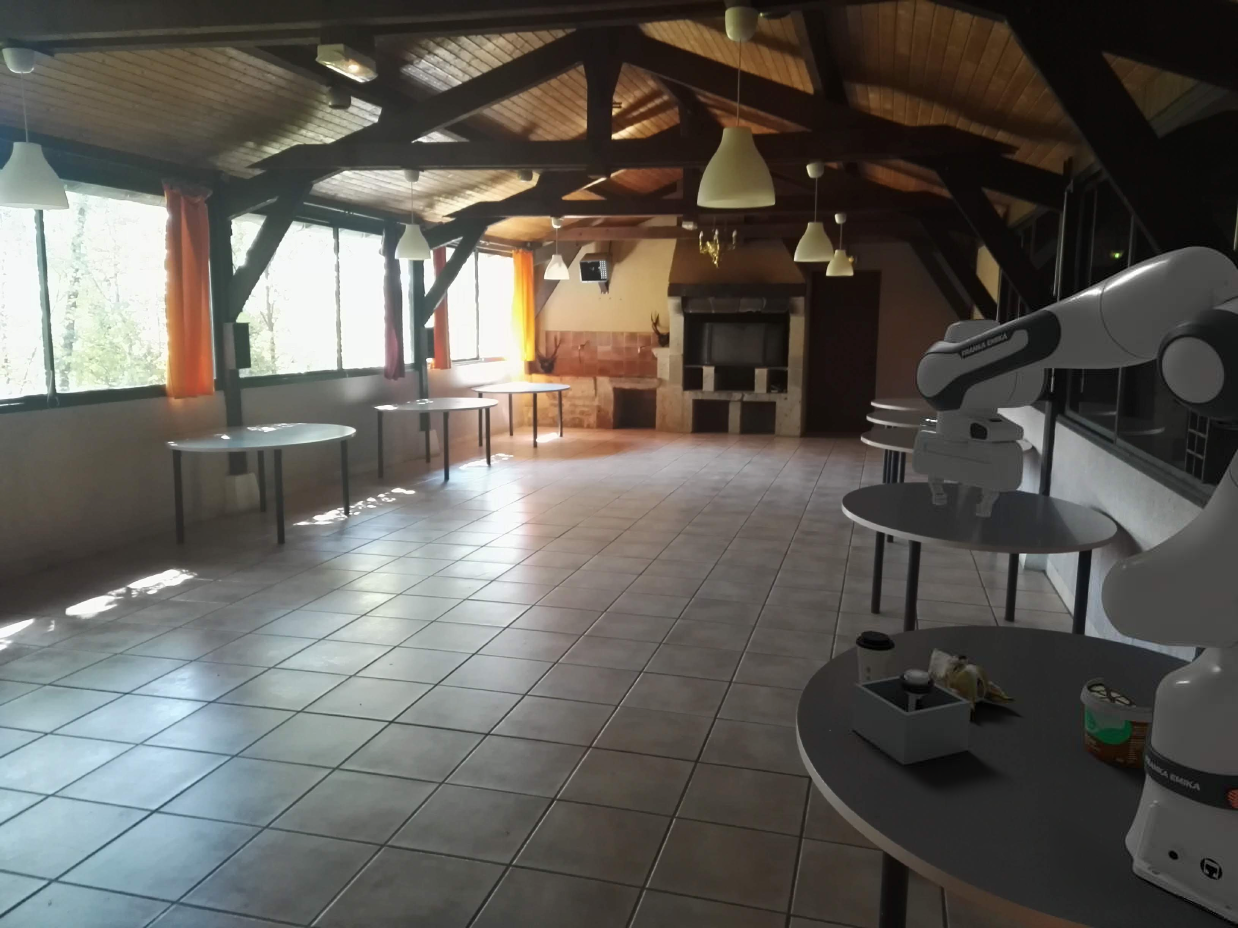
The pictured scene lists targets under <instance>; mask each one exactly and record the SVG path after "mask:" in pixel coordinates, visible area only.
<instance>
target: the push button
mask: <svg viewBox="0 0 1238 928" xmlns="http://www.w3.org/2000/svg"><path fill="white" fill-rule="evenodd" d="M899 676H900V677H899V681H900V682H901V689H903V690H904V691H906V692H907V693H908V694H909V704H908V705H907V708H906V709H905V712H912V711H917V710H922V709H923V705H922V696H923V695H926V694H929V693H931V691H932V686H934V680H933V679H932V678H930V677H929V674H928V671H927V672H926V671H924V670H922V669H915V668H914V669H912V668H911V669H907V670H905V673H903V674H901V675H899Z"/></svg>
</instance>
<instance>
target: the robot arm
mask: <svg viewBox="0 0 1238 928" xmlns="http://www.w3.org/2000/svg"><path fill="white" fill-rule="evenodd" d="M1155 359H1156V366H1157V372H1158V375H1159V377H1160V380H1161V381H1162V384H1163V386H1164V388H1165V389H1166V390H1167V391H1168V393H1169V394H1170V395H1171V396H1172V397H1173V399H1175V400H1176V401H1177V402H1178V403H1179V404H1181V405H1182V406H1183V407H1185V408H1187V410H1189V411H1191V412H1192V413H1194V414H1196V415H1198V416H1202V417H1205V418H1207V419H1208V420H1209V421H1210V422H1211V423H1212V424H1213V425H1214V426H1215V427H1218V428H1221V429H1226V430H1232V431H1234V430H1236V431H1238V269H1237V267H1236V265H1235V264H1234V262H1233V261H1232V260H1231V259H1230V258H1228V256H1226V255H1225V254H1223V253H1222V252H1220V251H1218V250H1216V249H1214V248H1210V247H1205V246H1188V247H1185V248H1181V249H1175V250H1172V251H1169V252H1165V253H1163V254H1162V253H1161V254H1160V255H1156V256H1154V257H1151V258H1149V259H1145V260H1143V261H1141V262H1139V263H1135V264H1134V265H1131V266H1129V267H1127V268H1125V269H1123V270H1121V271H1120V272H1117V273H1116V274H1114V275H1112V276H1109V277H1108V278H1106V279H1103V280H1102V281H1100V282H1097V283H1096V284H1093V285H1092V286H1090V287H1087V288H1085V289H1083V290H1082V291H1079V292H1077V293H1075V294H1073V295H1071V296H1069V297H1066V298H1064V299H1062V300H1059V301H1058V302H1054V303H1052V304H1050V305H1048V306H1046V307H1045V306H1044V307H1043V308H1040V309H1038V310H1037V311H1033V312H1031V313H1029V314H1027V315H1024V316H1021V317H1019V318H1016V319H1014V320H1011V321H1008V322H1005V323H1003V324H1001V323H1000V322H999V321H997V320H994V319H990V318H972V319H964V320H960V321H955V322H953V323H952V324H951V325H949V326H948V328H947V330H946V331H945V336H944V338H943V340H939V341H937V342H935V343H934V344H933V345H931V346H930V347H929V348H928V349H927V351H925V352H924V354H922V357H921V358H920V360H919V361H918V364H917V366H916V369H915V385H916V389H917V391H918V393H919V395H921V397H922V398H923V400H924V401H925V402H926V403H927V404H928V405H929V406H930V407H932V408H933V409H934V410H935V411H936V419H932V418H926V419H924V420H923V421H921V423H920V424H919V425H918V430H917V434H916V437H915V441H914V445H913V451H912V452H913V453H912V457H911V458H912V459H911V467H912V470H913V472H914V473H916V474H919V475H923V476H927V484H928V486H929V488H930V492H931V493H932V499H931V503H932V504H933V505H938V506H945V505H947V503H948V501H947V499H948V493H945V492H944V489H943V485H942V483H943V484H944V482H945V481H944V480H946V481H950V482H955V483H959V484H964V485H967V486H972V487H977V488H981V495H983V498H982V500H981V503H977V504H975V512H974V513H975V515H976V516H979V517H982V518H987V517H988V518H989V517H991V515H992V509H993V505H994V503H995V502H996V500H997V499H998V498H999V496H1000V493H1007V492H1008V493H1009V492H1016V491H1017V490H1018V489H1019V487H1021V485H1022V482H1023V471H1024V451H1023V448H1022V445H1021V444H1020V442H1018V441H1022V440H1023V439H1024V435H1025V434H1024V433H1025V431H1024V427H1023V426H1022V425H1020V424H1018V423H1016V422H1015V421H1012V420H1011V419H1009V418H1008V417H1005V416H1004V415H1002V414H1001V413H998V410H999V409H1017V408H1022V407H1024V408H1025V407H1028V406H1031V405H1033V404H1034V403H1036V402H1037V401H1038V400H1039V399H1040V398H1041V397H1042V395H1043V394H1044V392H1045V389H1046V388H1047V384H1048V380H1049V379H1048V378H1049V369H1077V370H1078V369H1080V370H1081V369H1083V370H1085V369H1086V370H1091V369H1092V370H1103V369H1105V370H1107V369H1118V368H1124V367H1130V366H1136V365H1140V364H1145V363H1147V362H1151V361H1153V360H1155ZM1225 423H1228V424H1225ZM1229 424H1231V425H1229ZM1100 593H1101V596H1100V597H1101V598H1100V599H1101V605H1102V609H1103V611H1104V614H1105V616H1106V618H1107V620H1108V622H1109V623H1110V624H1111V626H1112V627H1113V628H1114V629H1115V631H1117V632H1118V633H1119V634H1120V635H1121V636H1124V637H1126V638H1131V639H1133V640H1138V641H1143V642H1146V643H1151V644H1156V645H1159V646H1165V647H1167V646H1168V647H1184V648H1185V647H1186V648H1187V647H1189V648H1203V649H1204V648H1205V649H1204V651H1203V652H1202V653H1201V654H1200V655H1199V656H1198V657H1197V658H1196V659H1195V660H1193V661H1192V662H1190V663H1189V664H1187V665H1185V666H1182V667H1179V668H1178V669H1176V670H1173V671H1171V672H1169V673H1168V674H1167V675H1165V676H1164V677H1163V679H1161V681H1160V682H1159V685H1158V686H1157V689H1156V691H1155V698H1154V699H1155V701H1154V709H1153V717H1152V729H1151V737H1149V738H1148V739H1147V742H1146V748H1145V754H1144V763H1143V768H1144V772H1145V780H1144V785H1143V791H1142V795H1141V798H1140V802H1139V806H1138V808H1137V811H1136V815H1135V817H1134V820H1133V822H1132V824H1131V826H1130V829H1129V831H1128V832H1127V834H1126V836H1125V846H1126V848H1127V851H1128V853H1130V855H1131V856H1132V859H1133V862H1132V870H1133V872H1134V873H1135V874H1136V875H1137V876H1138V877H1140V878H1142V879H1143V880H1146V881H1149V882H1150V883H1152V884H1154V885H1155V886H1158V887H1160V888H1162V889H1164V890H1166V891H1168V892H1171V893H1172V894H1173V895H1176V894H1177V895H1176V896H1178V895H1179V896H1178V897H1180V896H1182V897H1184V898H1187V899H1188V900H1190V901H1193V902H1196V903H1198V904H1201V905H1202V906H1205V907H1207V908H1208V909H1209V910H1212V911H1213V912H1216V913H1218V914H1219V915H1221V916H1223V917H1224V918H1227V919H1228V920H1230V921H1235V922H1237V923H1238V449H1237V450H1236V451H1235V454H1234V455H1233V457H1232V459H1231V461H1230V463H1229V465H1228V467H1227V469H1226V471H1225V473H1223V476H1222V479H1221V480H1220V482H1219V484H1218V485H1217V487H1216V489H1215V490H1214V492H1213V493H1212V495H1211V497H1210V499H1209V500H1208V501H1207V504H1206V505H1205V506H1204V508H1203V509H1202V510H1201V511H1200V513H1199V514H1197V516H1196V517H1195V518H1194V519H1193V520H1191V522H1189V523H1188V524H1187V525H1186V526H1184V527H1183V528H1181V529H1180V530H1179V531H1177V532H1176V533H1174V534H1173V535H1171V536H1170V537H1168V538H1166V539H1165V540H1164V541H1162V542H1160V543H1158V544H1157V545H1155V546H1153V547H1151V548H1149V549H1147V550H1144V551H1142V552H1140V553H1137V554H1134V555H1131V556H1128V557H1125V558H1124V557H1123V558H1121V559H1119V560H1117V562H1115V563H1114V564H1113V565H1112V566H1111V568H1110V569H1109V570H1108V572H1107V574H1106V575H1105V577H1104V580H1103V582H1102V586H1101V592H1100ZM1182 897H1181V898H1182ZM1184 898H1183V899H1184ZM1188 900H1187V901H1188ZM1190 901H1189V902H1190ZM1224 918H1223V919H1224ZM1228 920H1227V921H1228ZM1230 921H1229V922H1230Z"/></svg>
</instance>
